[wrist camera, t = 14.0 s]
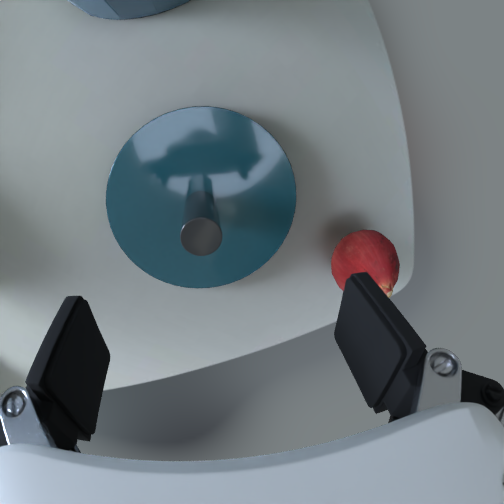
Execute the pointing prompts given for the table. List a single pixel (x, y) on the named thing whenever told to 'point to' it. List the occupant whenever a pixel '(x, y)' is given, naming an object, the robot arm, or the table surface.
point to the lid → (201, 197)
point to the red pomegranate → (366, 259)
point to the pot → (125, 7)
